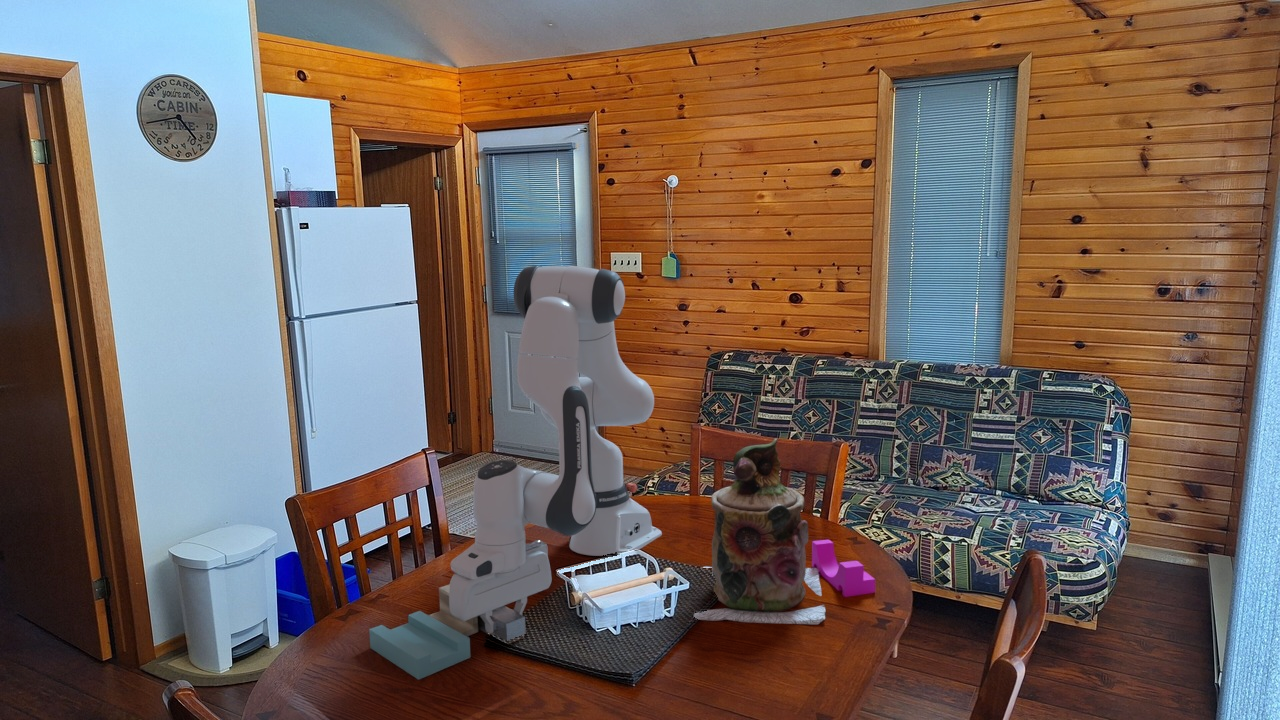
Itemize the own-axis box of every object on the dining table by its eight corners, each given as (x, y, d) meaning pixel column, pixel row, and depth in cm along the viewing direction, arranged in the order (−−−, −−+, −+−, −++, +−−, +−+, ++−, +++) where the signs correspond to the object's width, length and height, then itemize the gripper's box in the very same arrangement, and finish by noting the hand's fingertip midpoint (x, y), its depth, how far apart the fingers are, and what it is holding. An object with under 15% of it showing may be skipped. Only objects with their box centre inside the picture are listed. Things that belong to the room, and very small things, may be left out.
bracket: (482, 600, 164) (481, 573, 164) (516, 616, 157) (515, 588, 156) (429, 620, 156) (427, 591, 155) (462, 638, 148) (460, 608, 148)
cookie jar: (701, 572, 176) (699, 425, 172) (819, 577, 173) (820, 426, 168) (691, 624, 152) (689, 455, 148) (828, 631, 148) (830, 457, 144)
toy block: (874, 601, 161) (875, 564, 160) (845, 605, 159) (845, 567, 158) (839, 572, 175) (839, 538, 174) (811, 575, 174) (812, 541, 173)
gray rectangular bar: (460, 602, 164) (458, 582, 163) (525, 638, 148) (524, 616, 148) (442, 608, 161) (441, 588, 161) (507, 645, 145) (506, 624, 145)
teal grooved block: (420, 628, 152) (419, 610, 152) (470, 657, 141) (469, 637, 141) (370, 648, 145) (369, 629, 145) (418, 679, 134) (417, 659, 134)
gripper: (535, 533, 157) (538, 603, 159) (442, 564, 142) (446, 640, 144) (557, 541, 152) (559, 612, 154) (462, 573, 138) (467, 652, 140)
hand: (504, 626), depth 149 cm, fingers closed on gray rectangular bar, 4 cm apart
